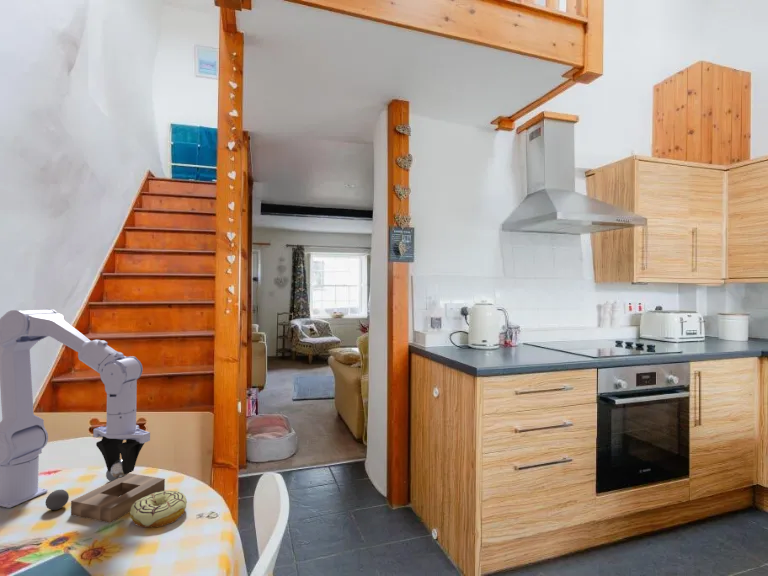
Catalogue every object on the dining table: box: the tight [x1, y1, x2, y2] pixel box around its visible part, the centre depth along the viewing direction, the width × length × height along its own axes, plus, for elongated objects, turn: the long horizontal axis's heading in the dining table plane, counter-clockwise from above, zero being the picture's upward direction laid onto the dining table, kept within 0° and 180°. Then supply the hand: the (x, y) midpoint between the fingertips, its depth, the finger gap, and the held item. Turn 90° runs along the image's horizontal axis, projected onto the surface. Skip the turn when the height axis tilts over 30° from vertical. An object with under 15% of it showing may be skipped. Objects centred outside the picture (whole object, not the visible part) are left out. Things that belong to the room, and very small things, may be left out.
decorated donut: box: [129, 490, 188, 529], centre depth 86 cm, size 10×11×4 cm
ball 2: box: [105, 469, 118, 482], centre depth 102 cm, size 4×4×4 cm
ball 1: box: [44, 489, 70, 511], centre depth 88 cm, size 4×4×4 cm
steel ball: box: [111, 458, 127, 478], centre depth 91 cm, size 4×4×4 cm
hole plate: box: [70, 472, 166, 524], centre depth 91 cm, size 11×14×3 cm
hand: (120, 471), depth 91 cm, fingers closed on steel ball, 4 cm apart
